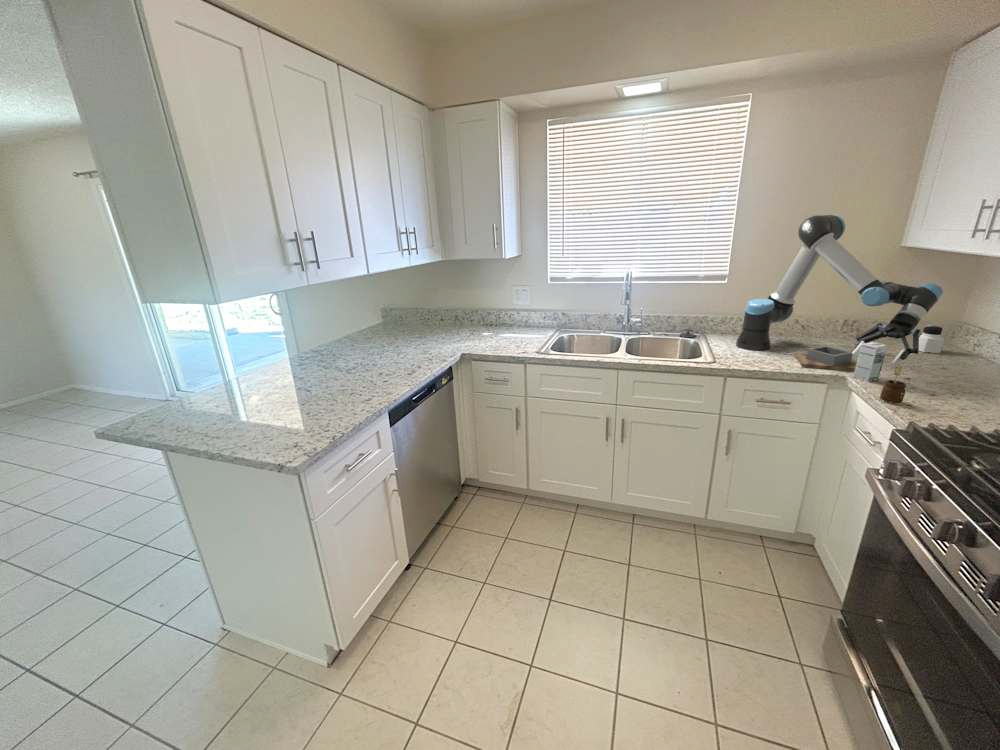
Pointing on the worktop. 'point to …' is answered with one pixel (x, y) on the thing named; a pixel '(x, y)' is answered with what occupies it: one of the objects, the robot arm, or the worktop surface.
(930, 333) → the medicine bottle
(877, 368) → the syrup box
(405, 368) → the worktop surface
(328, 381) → the worktop surface
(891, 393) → the brown potted plant
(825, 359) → the holder
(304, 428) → the worktop surface
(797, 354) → the walnut board
